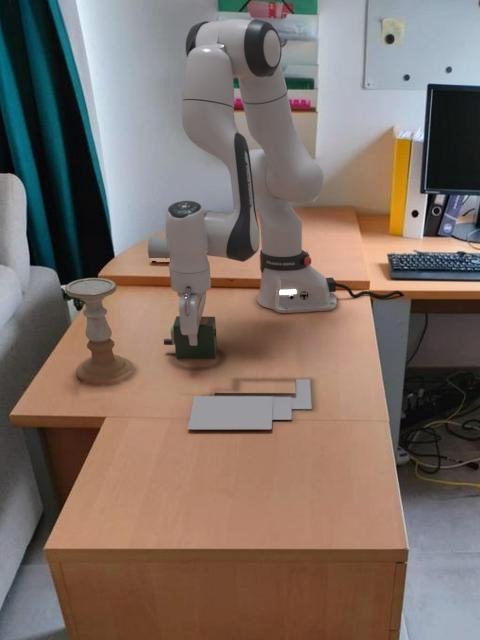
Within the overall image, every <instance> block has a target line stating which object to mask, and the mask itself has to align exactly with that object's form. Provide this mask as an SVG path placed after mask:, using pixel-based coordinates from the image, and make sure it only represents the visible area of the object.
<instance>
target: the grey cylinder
mask: <svg viewBox="0 0 480 640" xmlns="http://www.w3.org/2000/svg"><path fill="white" fill-rule="evenodd" d="M147 255H148V259H149V258H166V259H167V258H170V255H169V252H168V249H167V241H166V237H158V236H150V237H149V239H148V242H147Z"/></svg>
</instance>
